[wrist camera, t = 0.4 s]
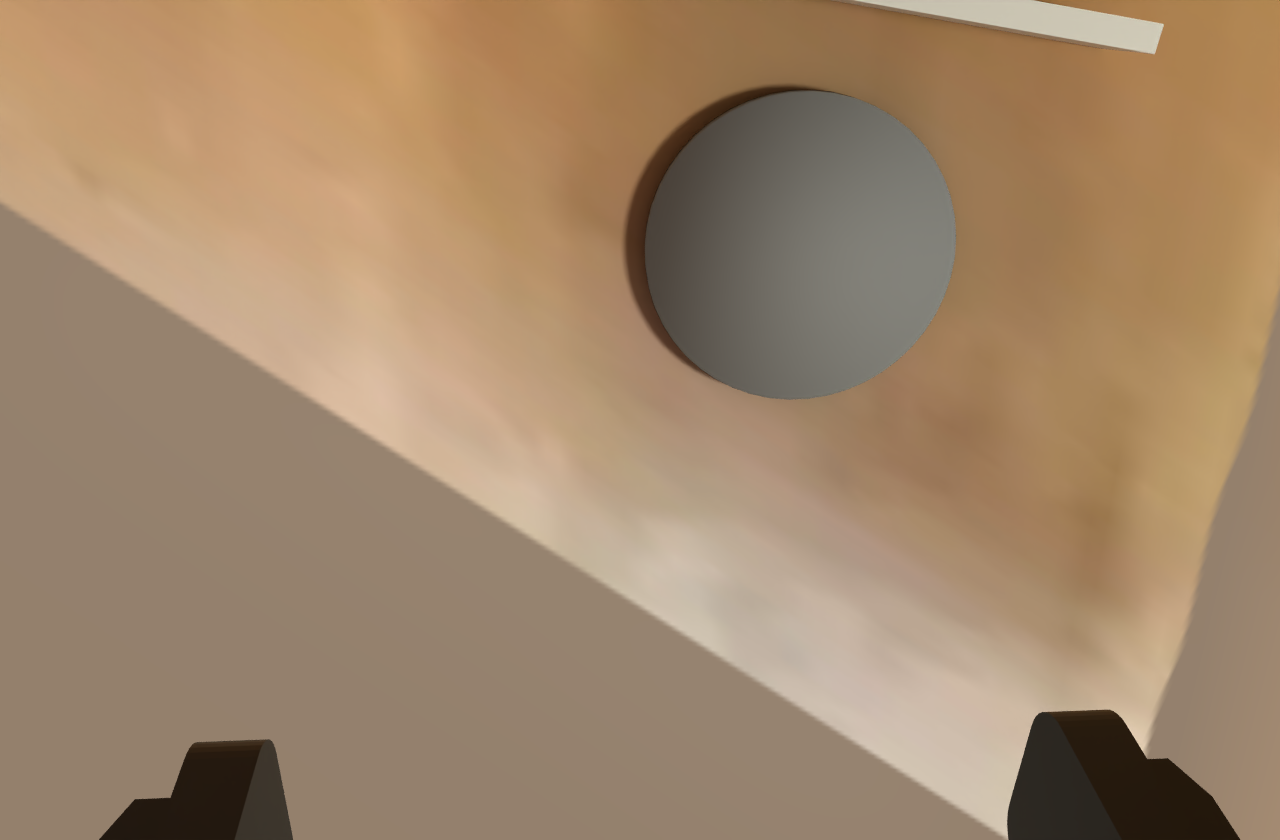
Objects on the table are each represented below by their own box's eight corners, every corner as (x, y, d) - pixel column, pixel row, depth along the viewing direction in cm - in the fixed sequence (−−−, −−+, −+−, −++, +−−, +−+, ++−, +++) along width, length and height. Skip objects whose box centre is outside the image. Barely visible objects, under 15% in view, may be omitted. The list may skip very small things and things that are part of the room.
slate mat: (673, 64, 34) (674, 65, 34) (986, 118, 35) (992, 120, 34) (622, 370, 38) (622, 376, 37) (908, 413, 38) (912, 419, 38)
